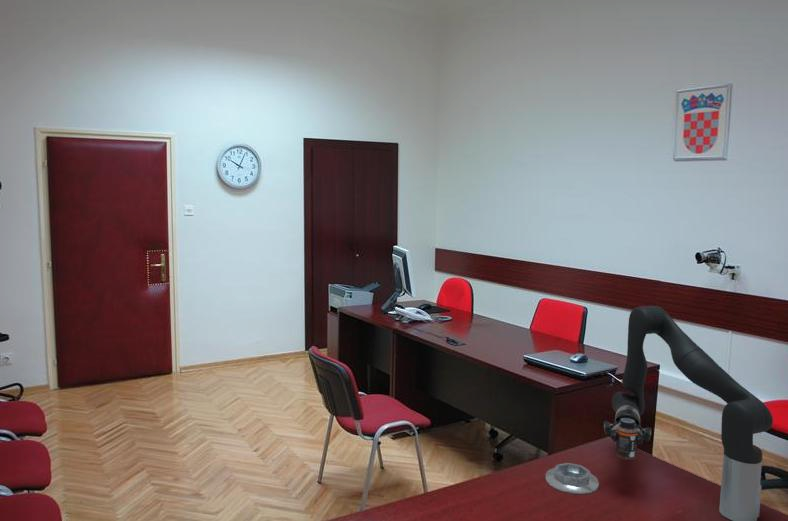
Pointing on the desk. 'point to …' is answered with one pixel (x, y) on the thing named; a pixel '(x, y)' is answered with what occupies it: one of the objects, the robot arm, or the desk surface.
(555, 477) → the steel collar
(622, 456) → the supplement bottle
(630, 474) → the desk surface
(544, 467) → the desk surface
